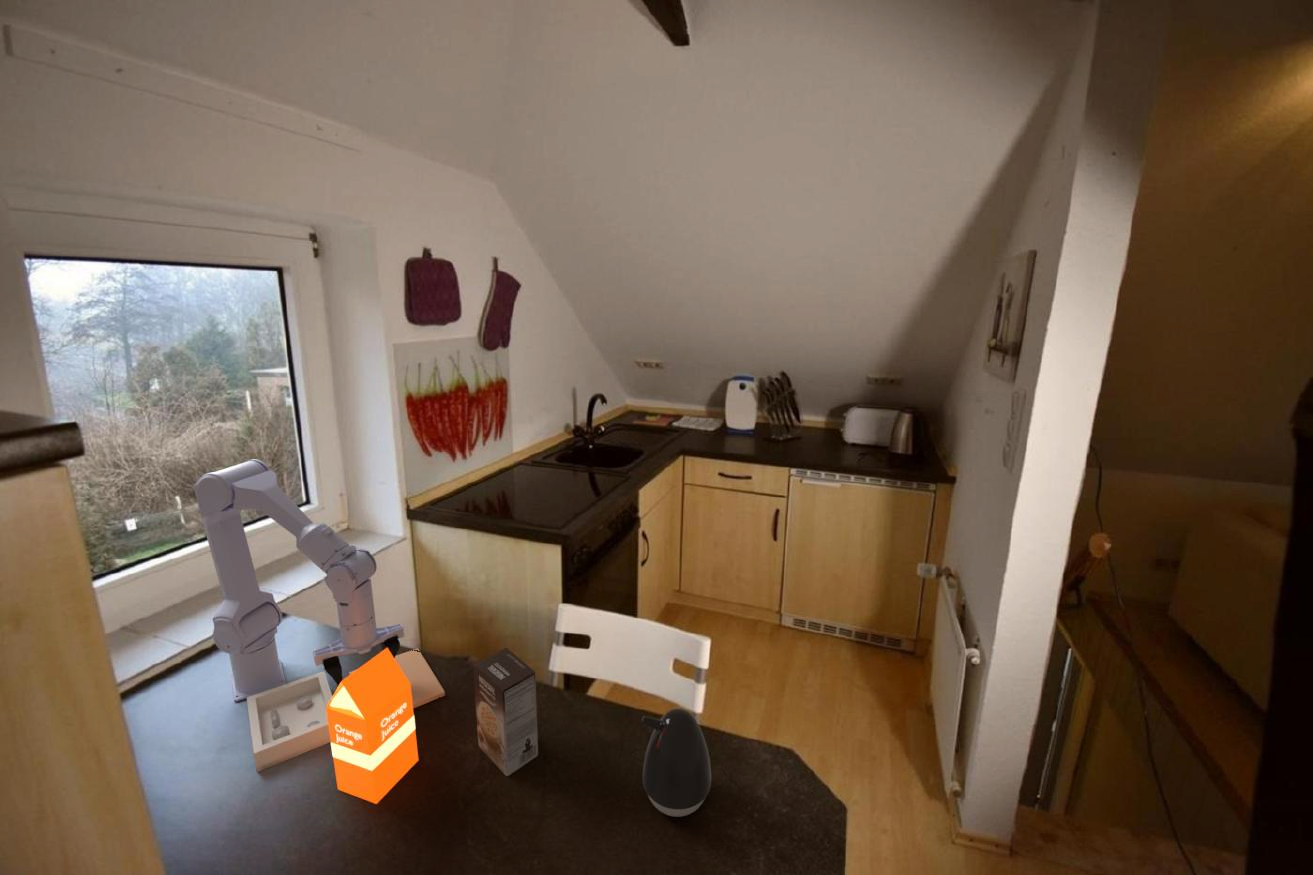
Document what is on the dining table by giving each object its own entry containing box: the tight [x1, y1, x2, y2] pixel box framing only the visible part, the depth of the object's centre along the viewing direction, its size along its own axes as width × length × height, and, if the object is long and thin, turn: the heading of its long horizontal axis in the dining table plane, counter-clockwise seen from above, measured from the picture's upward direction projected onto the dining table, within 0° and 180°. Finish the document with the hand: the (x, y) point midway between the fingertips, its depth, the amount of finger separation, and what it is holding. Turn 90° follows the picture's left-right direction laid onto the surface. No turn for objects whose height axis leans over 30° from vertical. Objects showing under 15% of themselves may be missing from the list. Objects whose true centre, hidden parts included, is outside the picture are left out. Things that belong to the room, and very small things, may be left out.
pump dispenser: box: [641, 707, 712, 818], centre depth 83 cm, size 10×10×15 cm
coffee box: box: [472, 647, 539, 777], centre depth 91 cm, size 9×6×16 cm
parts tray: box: [246, 670, 333, 773], centre depth 97 cm, size 16×12×4 cm
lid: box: [348, 648, 446, 709], centre depth 107 cm, size 17×13×5 cm
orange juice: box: [326, 647, 419, 805], centre depth 86 cm, size 8×9×20 cm
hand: (365, 682), depth 104 cm, fingers open, 7 cm apart
